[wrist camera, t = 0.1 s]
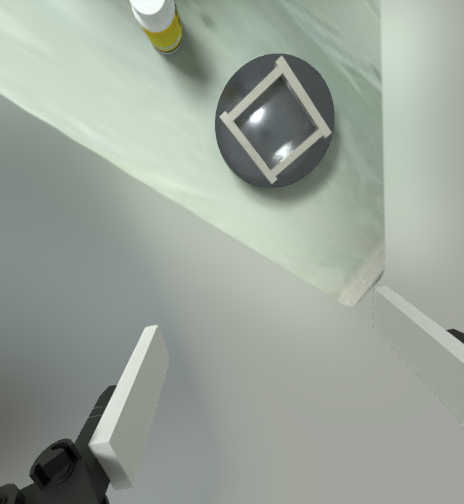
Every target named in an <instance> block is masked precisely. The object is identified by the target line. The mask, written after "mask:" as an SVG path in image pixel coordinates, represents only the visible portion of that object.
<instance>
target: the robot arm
mask: <svg viewBox="0 0 464 504" xmlns="http://www.w3.org/2000/svg"><path fill="white" fill-rule="evenodd" d="M373 327H374V328H375V329H376V330H377V331H378V332H379V333H380V334H381V335H382V336H383V338H384V339H385V340H386V341H387V342H388V343H389V344H390V345H391V346H392V348H393V349H394V350H395V351H396V352H397V353H398V354H399V355H400V356H401V358H403V360H404V361H405V362H406V363H407V364H408V365H409V366H410V367H411V369H412V370H413V371H414V372H415V373H416V374H417V375H418V376H419V377H420V378H421V380H422V381H423V382H424V383H425V384H426V385H427V386H428V387H429V389H430V390H431V391H432V392H433V393H434V394H435V395H436V396H437V397H438V398H439V400H440V401H441V402H442V403H443V404H444V405H445V406H446V407H447V408H448V410H449V411H450V412H451V413H452V414H453V415H454V416H455V417H456V418H457V419H458V421H459V422H460V423H461V424H462V425H463V426H464V333H462V332H459V331H457V330H455V329H450V330H445V329H443V328H442V327H440V326H439V325H438V324H437V323H436V322H434V321H433V320H432V319H430V318H429V317H428V316H426V315H425V314H424V313H422V312H421V311H420V310H418V309H417V308H416V307H414V306H413V305H412V304H411V303H409V302H408V301H407V300H405V299H404V298H403V297H401V296H400V295H399V294H397V293H396V292H395V291H393V290H392V289H391V288H389V287H388V286H387V285H385V286H379V287H374V288H373ZM169 361H170V358H169V355H168V353H167V350H166V347H165V344H164V342H163V338H162V336H161V333H160V330H159V327H158V325H155V326H149V327H146V328H145V330H144V331H143V333H142V336H141V338H140V340H139V342H138V344H137V346H136V348H135V350H134V352H133V354H132V356H131V358H130V360H129V363H128V364H127V366H126V368H125V371H124V372H123V374H122V376H121V379H120V381H119V383H118V385H113V386H109V387H108V388H107V389H106V390H105V391H104V392H103V393H102V395H101V396H100V397H99V399H98V401H97V403H96V405H95V406H94V409H93V410H92V412H91V414H90V416H89V418H88V419H87V421H86V423H85V425H84V427H83V428H82V430H81V432H80V434H79V436H78V438H77V440H76V441H75V443H73V442H72V441H71V439H62V440H58V441H57V442H55V443H53V444H51V445H50V446H49V447H47V448H46V449H45V450H44V451H43V452H42V453H41V454H40V455H39V456H38V458H37V459H36V460H35V462H34V464H33V465H32V467H31V470H30V475H29V476H30V477H31V479H32V480H33V481H34V483H33V484H31V485H29V486H27V487H25V488H23V489H21V490H19V489H18V488H17V486H16V485H15V484H6V485H4V486H1V487H0V504H109V501H108V498H107V496H106V495H105V493H106V491H107V488H108V485H109V482H110V483H111V485H112V486H113V488H114V490H121V489H128V488H133V487H134V485H135V481H136V478H137V474H138V470H139V467H140V463H141V460H142V456H143V453H144V449H145V446H146V442H147V439H148V435H149V431H150V428H151V424H152V421H153V418H154V414H155V411H156V407H157V403H158V400H159V396H160V393H161V389H162V386H163V382H164V379H165V375H166V372H167V368H168V365H169Z"/></svg>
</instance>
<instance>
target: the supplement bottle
mask: <svg viewBox="0 0 464 504" xmlns="http://www.w3.org/2000/svg"><path fill="white" fill-rule="evenodd" d="M129 1H130V3H131V6H132V10H133V13H134V16H135V18H136V20H137V21H138V23H139V25H140V26H141V28H142V30H143V31H144V33H145V34H146V36H147V38H148V39H149V41H150V43H151V44H152V46H153V47H154V48H155V49H156V50H157V51H159V52H160V53H163V54H172V53H174V52H176V51H177V50H178V49H179V47H180V46H181V44H182V41H183V27H182V23H181V20H180V17H179V14H178V11H177V8H176V4H175V1H174V0H129Z"/></svg>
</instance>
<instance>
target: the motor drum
mask: <svg viewBox="0 0 464 504" xmlns="http://www.w3.org/2000/svg"><path fill="white" fill-rule="evenodd" d="M333 127H334V107H333V101H332V97H331V94H330V91H329V89H328V87H327V85H326V83H325V81H324V79H323V78H322V77H321V75H320V74H319V73H318V72H317V71H316V70H315V68H314V67H312V66H311V65H310V64H308V63H307V62H305V61H304V60H302V59H300V58H297V57H295V56H292V55H286V54H269V55H264V56H261V57H258V58H256V59H254V60H252V61H250V62H248V63H247V64H245V65H244V66H242V67H241V68H240V69H239V70H238V71H237V72H236V73H235V74H234V75H233V76H232V77H231V79H230V80H229V81H228V83H227V84H226V86H225V88H224V90H223V92H222V94H221V96H220V99H219V102H218V106H217V110H216V117H215V132H216V139H217V143H218V147H219V149H220V152H221V154H222V156H223V158H224V160H225V162H226V163H227V165H228V166H229V167H230V168H231V170H232V171H233V172H234V173H236V174H237V175H238V176H239V177H240V178H242V179H244V180H245V181H247V182H249V183H251V184H254V185H257V186H261V187H274V188H275V187H282V186H286V185H289V184H292V183H294V182H296V181H298V180H300V179H302V178H303V177H305V176H306V175H307V174H309V173H310V172H311V171H312V170H313V169H314V168H315V167H316V165H317V164H318V163H319V162H320V160H321V159H322V157H323V156H324V154H325V152H326V150H327V148H328V146H329V143H330V140H331V137H332V133H333Z"/></svg>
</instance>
